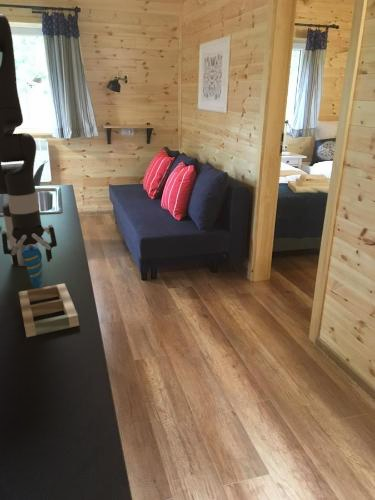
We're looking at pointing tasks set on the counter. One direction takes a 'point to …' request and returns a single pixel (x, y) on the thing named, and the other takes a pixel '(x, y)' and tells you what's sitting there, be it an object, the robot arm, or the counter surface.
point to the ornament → (33, 264)
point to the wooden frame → (47, 310)
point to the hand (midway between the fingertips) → (33, 263)
